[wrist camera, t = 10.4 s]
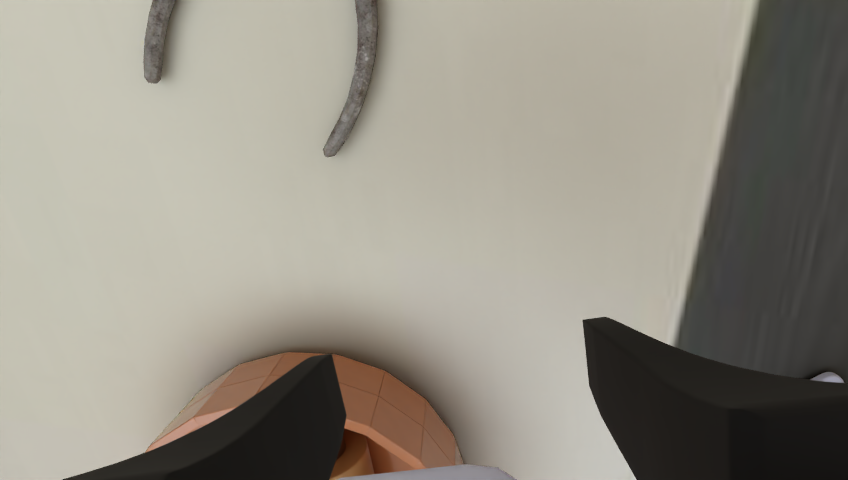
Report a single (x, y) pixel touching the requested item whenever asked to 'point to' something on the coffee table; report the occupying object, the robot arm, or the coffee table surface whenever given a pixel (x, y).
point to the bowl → (364, 403)
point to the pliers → (360, 81)
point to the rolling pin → (352, 457)
